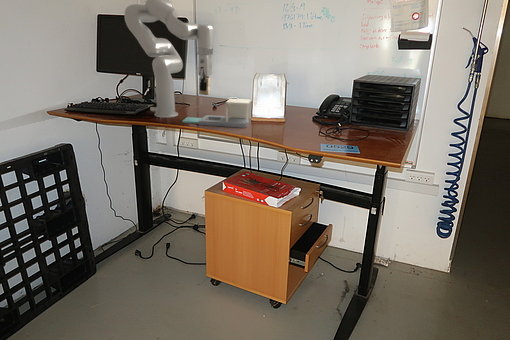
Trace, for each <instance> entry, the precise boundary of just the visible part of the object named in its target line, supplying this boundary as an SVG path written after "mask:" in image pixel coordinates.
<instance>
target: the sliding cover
mask: <svg viewBox="0 0 510 340" xmlns="http://www.w3.org/2000/svg"><path fill="white" fill-rule="evenodd" d="M251 115H252V99H250V98H249V99H248V98H247V99H246V98H229V99H227V101H225V116H226V122H228V116H230V118H246V123H248V119H250V120H251V119H252V118H251V117H252V116H251Z"/></svg>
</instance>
